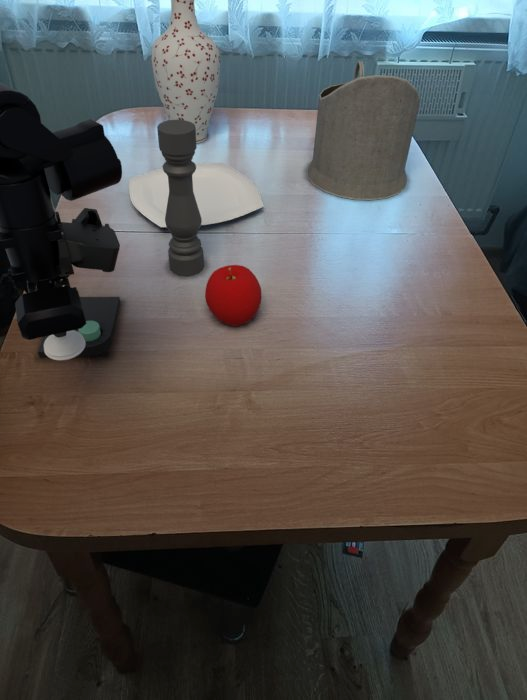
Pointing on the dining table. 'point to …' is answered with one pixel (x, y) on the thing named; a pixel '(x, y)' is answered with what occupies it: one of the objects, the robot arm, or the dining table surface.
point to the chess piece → (64, 346)
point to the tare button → (90, 331)
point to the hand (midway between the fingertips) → (60, 330)
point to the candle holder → (181, 196)
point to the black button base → (105, 316)
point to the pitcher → (364, 136)
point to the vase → (186, 69)
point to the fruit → (233, 294)
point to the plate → (198, 194)
